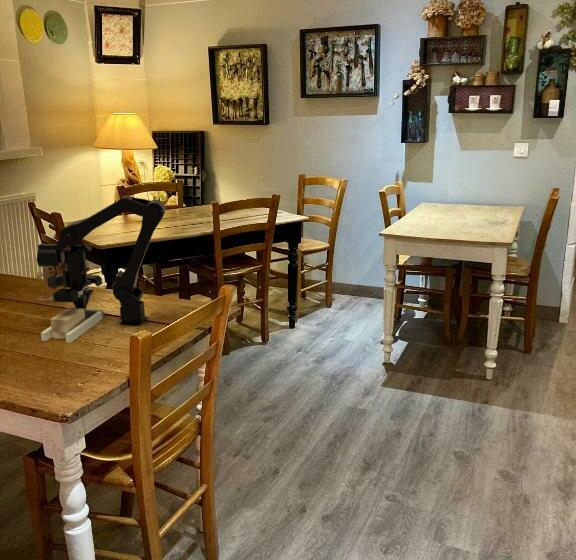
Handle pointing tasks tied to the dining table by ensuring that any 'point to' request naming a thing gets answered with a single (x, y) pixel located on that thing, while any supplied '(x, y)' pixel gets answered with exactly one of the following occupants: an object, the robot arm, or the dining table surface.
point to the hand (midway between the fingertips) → (81, 314)
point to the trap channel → (90, 320)
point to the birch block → (66, 322)
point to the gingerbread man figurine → (47, 297)
